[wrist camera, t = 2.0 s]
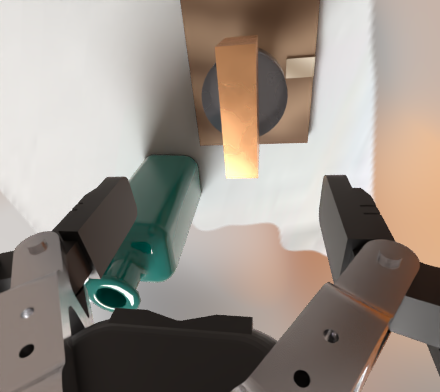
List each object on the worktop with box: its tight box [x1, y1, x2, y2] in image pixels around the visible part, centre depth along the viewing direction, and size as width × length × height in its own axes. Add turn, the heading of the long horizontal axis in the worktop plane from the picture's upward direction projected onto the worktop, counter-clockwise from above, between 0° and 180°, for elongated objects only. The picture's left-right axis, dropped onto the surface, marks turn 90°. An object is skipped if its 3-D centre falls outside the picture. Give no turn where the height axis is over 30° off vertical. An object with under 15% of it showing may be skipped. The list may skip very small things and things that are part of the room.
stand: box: [180, 0, 320, 146], centre depth 30 cm, size 18×14×10 cm
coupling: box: [202, 35, 288, 178], centre depth 23 cm, size 10×7×8 cm
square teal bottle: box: [84, 155, 201, 312], centre depth 35 cm, size 10×8×22 cm
